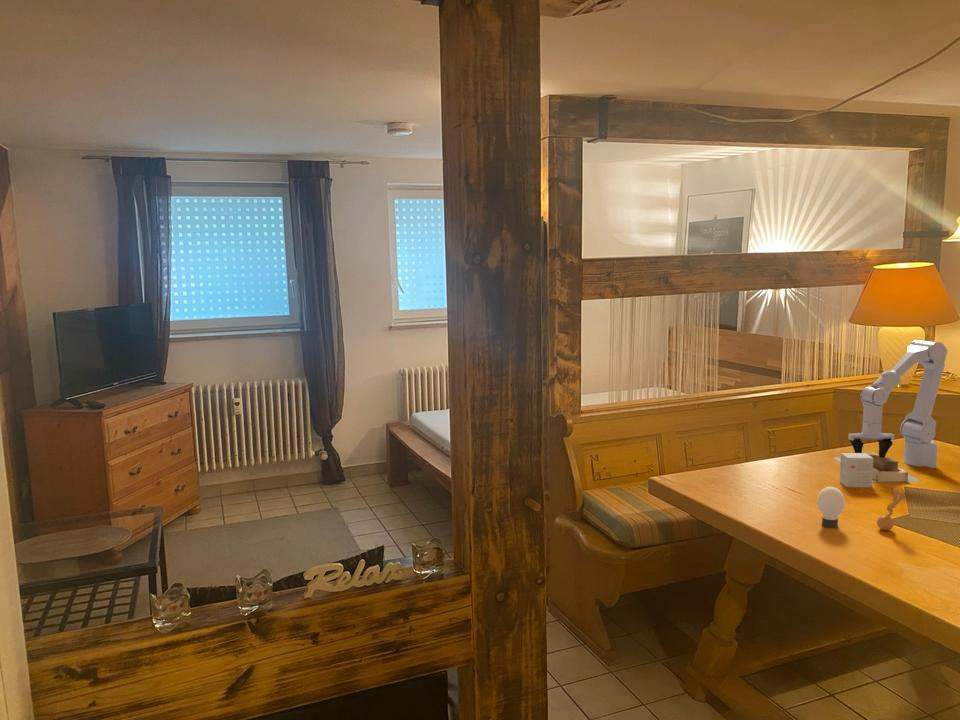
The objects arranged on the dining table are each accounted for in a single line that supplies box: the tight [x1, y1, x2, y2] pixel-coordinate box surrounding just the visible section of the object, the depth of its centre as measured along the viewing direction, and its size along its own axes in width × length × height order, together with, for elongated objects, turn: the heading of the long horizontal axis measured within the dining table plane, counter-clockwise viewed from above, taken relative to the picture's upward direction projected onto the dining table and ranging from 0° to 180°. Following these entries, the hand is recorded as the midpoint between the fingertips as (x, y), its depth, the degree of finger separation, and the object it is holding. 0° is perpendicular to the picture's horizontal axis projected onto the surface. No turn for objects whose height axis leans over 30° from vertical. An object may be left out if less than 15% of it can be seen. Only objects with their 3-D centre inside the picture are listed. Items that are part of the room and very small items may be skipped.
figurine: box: [876, 488, 905, 531], centre depth 190 cm, size 8×6×12 cm
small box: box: [839, 452, 873, 488], centre depth 226 cm, size 8×6×10 cm
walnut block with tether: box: [862, 451, 899, 471], centre depth 238 cm, size 5×15×6 cm, turn 177°
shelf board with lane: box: [833, 457, 922, 483], centre depth 242 cm, size 16×28×4 cm, turn 177°
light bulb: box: [817, 486, 846, 528], centre depth 195 cm, size 7×7×11 cm
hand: (869, 460), depth 244 cm, fingers open, 7 cm apart
